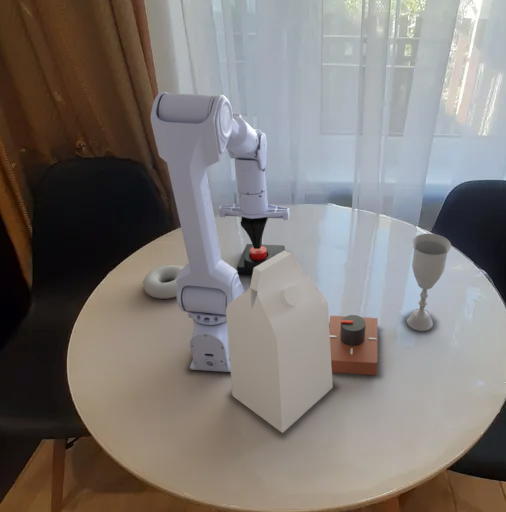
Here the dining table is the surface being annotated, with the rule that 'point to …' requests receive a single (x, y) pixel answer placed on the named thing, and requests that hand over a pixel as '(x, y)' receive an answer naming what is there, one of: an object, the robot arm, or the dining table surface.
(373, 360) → the timer panel
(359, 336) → the timer knob
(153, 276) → the donut
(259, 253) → the button
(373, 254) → the dining table surface
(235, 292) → the robot arm
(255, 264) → the control box
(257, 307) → the milk
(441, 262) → the chalice
